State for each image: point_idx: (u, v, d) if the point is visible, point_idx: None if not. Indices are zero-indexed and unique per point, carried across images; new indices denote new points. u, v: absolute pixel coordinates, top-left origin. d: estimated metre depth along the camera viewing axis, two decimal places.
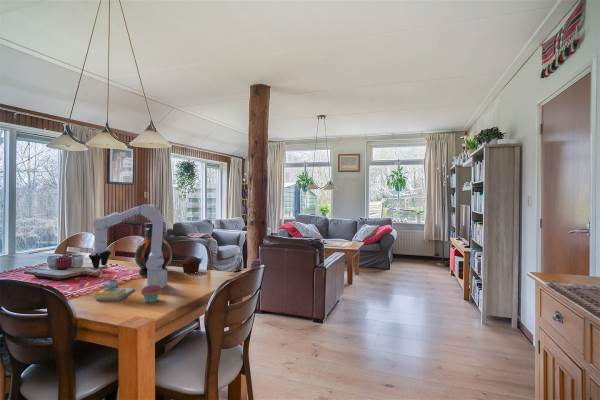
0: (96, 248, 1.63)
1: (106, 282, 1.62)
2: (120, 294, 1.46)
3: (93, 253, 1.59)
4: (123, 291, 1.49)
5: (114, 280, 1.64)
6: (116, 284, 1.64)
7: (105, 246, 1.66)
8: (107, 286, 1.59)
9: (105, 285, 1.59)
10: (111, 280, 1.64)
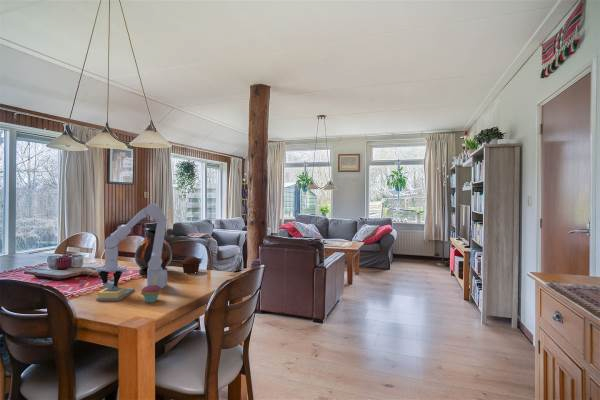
0: None
1: (106, 282, 1.62)
2: (120, 294, 1.46)
3: None
4: (123, 291, 1.49)
5: None
6: None
7: (107, 265, 1.59)
8: (107, 286, 1.59)
9: (105, 285, 1.59)
10: (111, 280, 1.64)
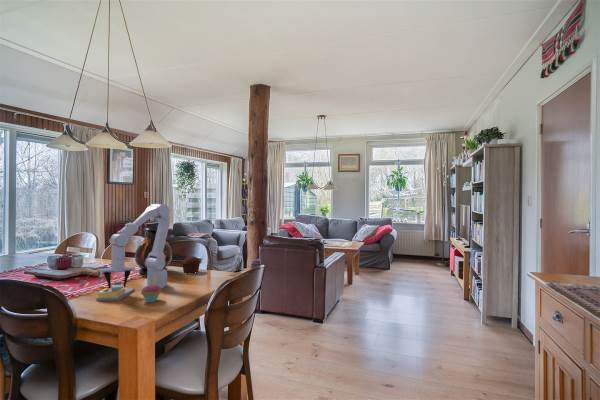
0: None
1: (112, 285, 1.52)
2: (120, 294, 1.46)
3: None
4: (123, 291, 1.49)
5: (119, 283, 1.55)
6: (122, 287, 1.55)
7: (116, 265, 1.50)
8: (116, 289, 1.50)
9: (114, 289, 1.49)
10: (115, 283, 1.54)
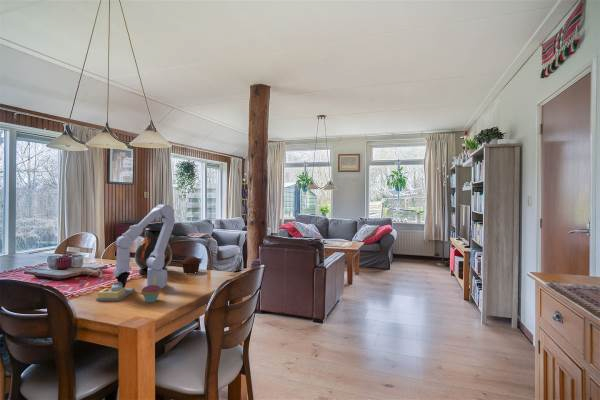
0: (118, 268, 1.55)
1: (112, 285, 1.52)
2: (120, 294, 1.46)
3: (116, 274, 1.50)
4: (123, 291, 1.49)
5: (119, 283, 1.55)
6: (122, 287, 1.55)
7: (127, 266, 1.57)
8: (116, 289, 1.50)
9: (114, 289, 1.49)
10: (115, 283, 1.54)
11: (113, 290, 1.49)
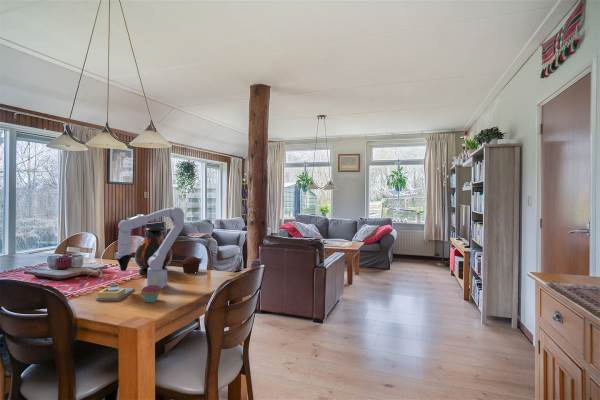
0: (120, 251, 1.58)
1: (108, 288, 1.48)
2: (120, 294, 1.46)
3: (118, 256, 1.53)
4: (123, 291, 1.49)
5: (115, 285, 1.51)
6: None
7: (129, 249, 1.60)
8: None
9: (111, 291, 1.45)
10: (111, 285, 1.50)
11: None
